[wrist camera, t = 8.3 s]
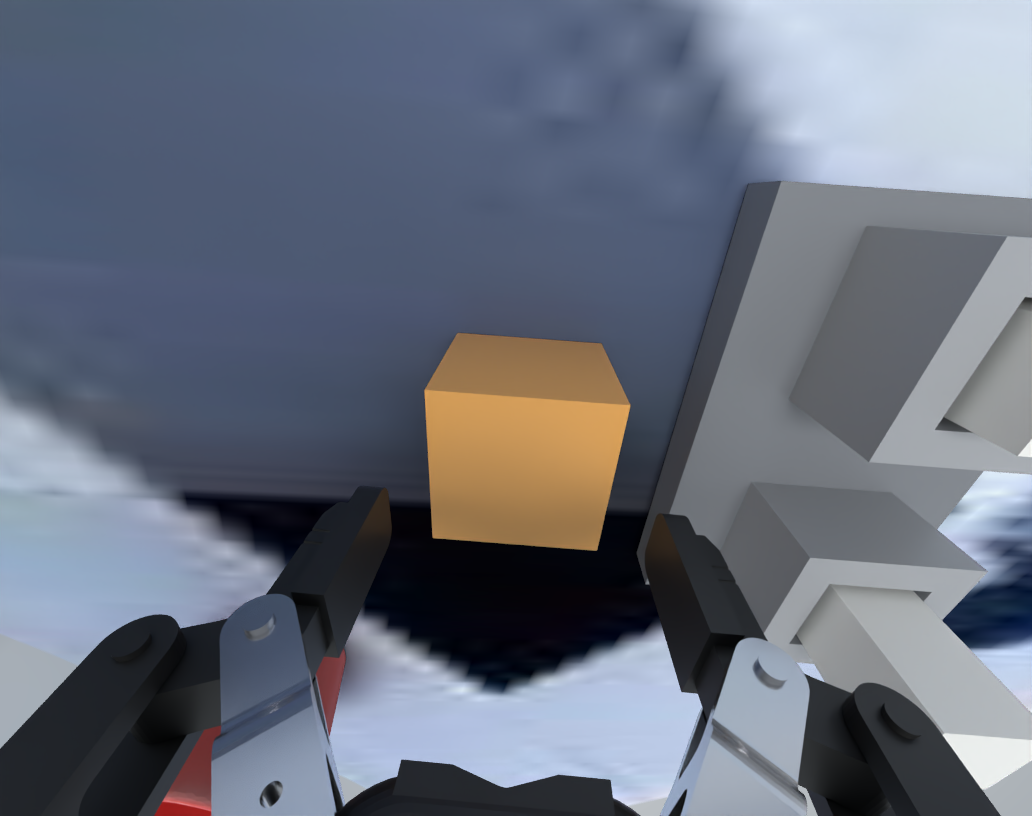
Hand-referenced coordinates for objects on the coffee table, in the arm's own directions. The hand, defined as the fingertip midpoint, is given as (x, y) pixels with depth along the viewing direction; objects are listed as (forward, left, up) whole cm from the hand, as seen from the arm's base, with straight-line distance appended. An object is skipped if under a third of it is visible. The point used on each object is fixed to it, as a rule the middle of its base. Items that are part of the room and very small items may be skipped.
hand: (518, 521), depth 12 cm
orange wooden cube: (0, 0, -7) cm, 7 cm away
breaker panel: (0, +13, -7) cm, 15 cm away
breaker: (+5, +13, -2) cm, 14 cm away
